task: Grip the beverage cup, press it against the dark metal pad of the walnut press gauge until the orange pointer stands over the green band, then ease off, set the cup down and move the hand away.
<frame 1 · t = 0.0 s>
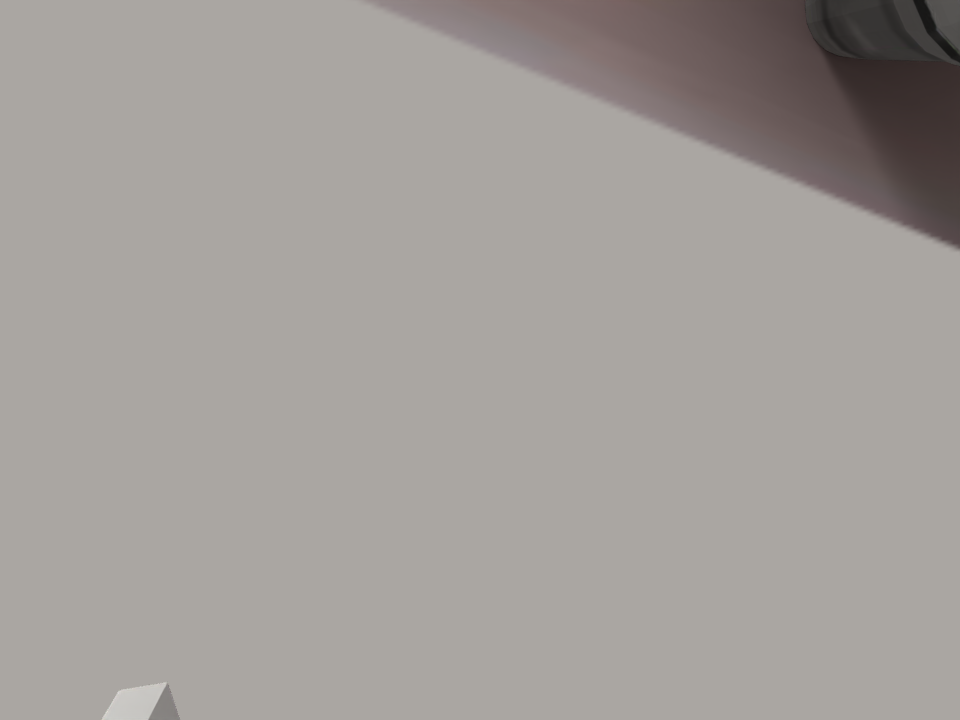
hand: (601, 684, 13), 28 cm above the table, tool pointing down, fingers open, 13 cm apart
beverage cup: (854, 3, 37), on the table
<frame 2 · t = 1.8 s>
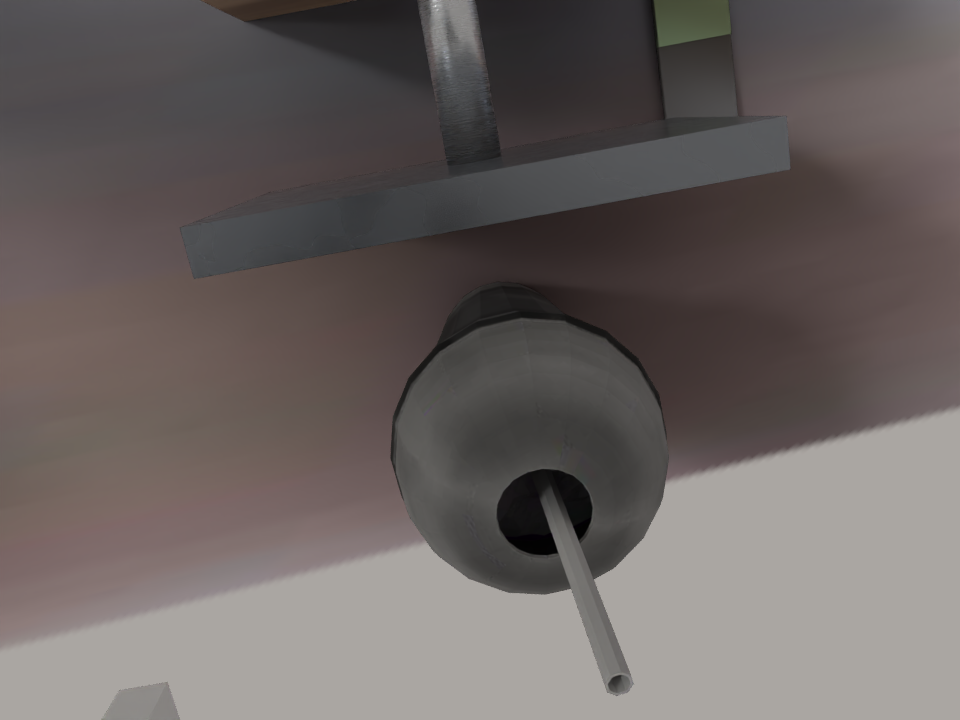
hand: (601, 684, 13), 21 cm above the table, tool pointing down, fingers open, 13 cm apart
beverage cup: (502, 336, 33), on the table
gauge housing: (465, 130, 31), on the table
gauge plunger: (482, 14, 23), point 7 cm above the table, slide at 0.0 cm
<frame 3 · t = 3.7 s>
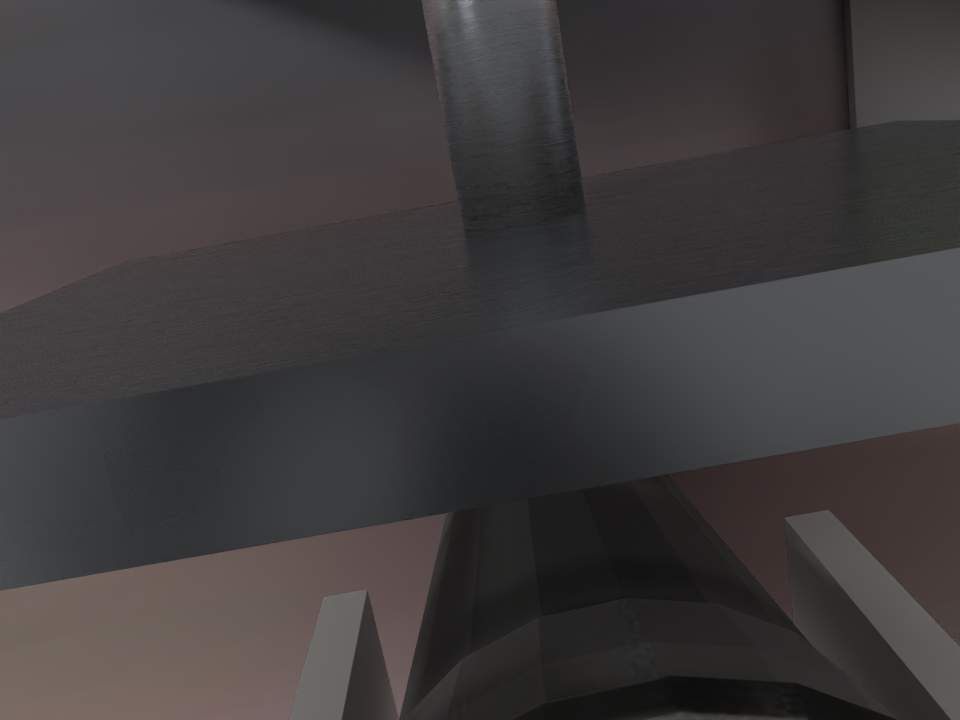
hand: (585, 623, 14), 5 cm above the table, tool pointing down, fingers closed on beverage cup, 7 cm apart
beverage cup: (553, 493, 20), on the table, touching gripper
gauge housing: (492, 143, 17), on the table
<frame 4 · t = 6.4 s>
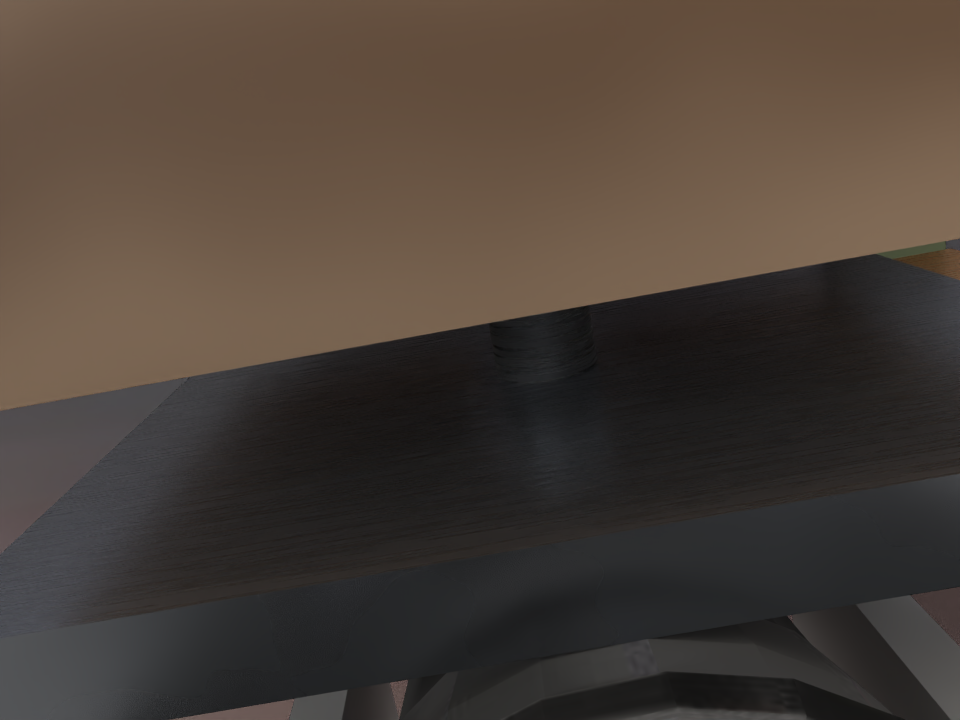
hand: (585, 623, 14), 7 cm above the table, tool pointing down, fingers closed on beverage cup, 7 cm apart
beverage cup: (553, 494, 20), point 2 cm above the table, touching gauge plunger, gripper
gauge housing: (541, 418, 21), on the table
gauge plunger: (573, 110, 12), point 8 cm above the table, slide at 4.2 cm, touching beverage cup
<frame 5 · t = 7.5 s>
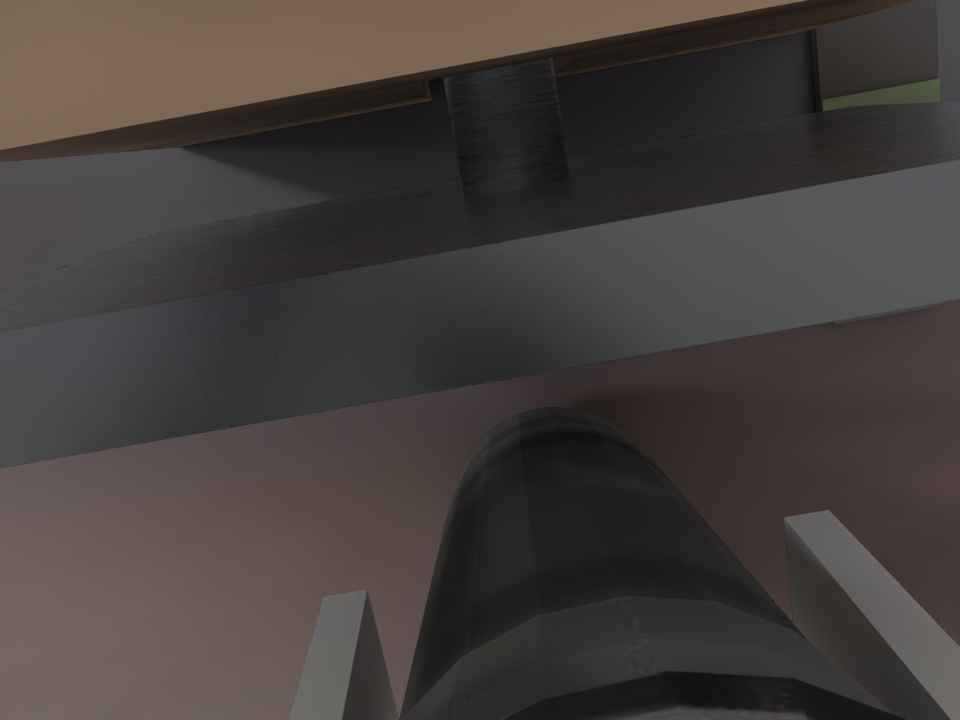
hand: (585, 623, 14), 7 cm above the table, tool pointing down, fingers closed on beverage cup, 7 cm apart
beverage cup: (553, 495, 20), point 2 cm above the table, touching gripper
gauge housing: (520, 307, 20), on the table
when the fingers open (6 cm above the table, at t = 8.1 s): beverage cup stays where it is, on the table.
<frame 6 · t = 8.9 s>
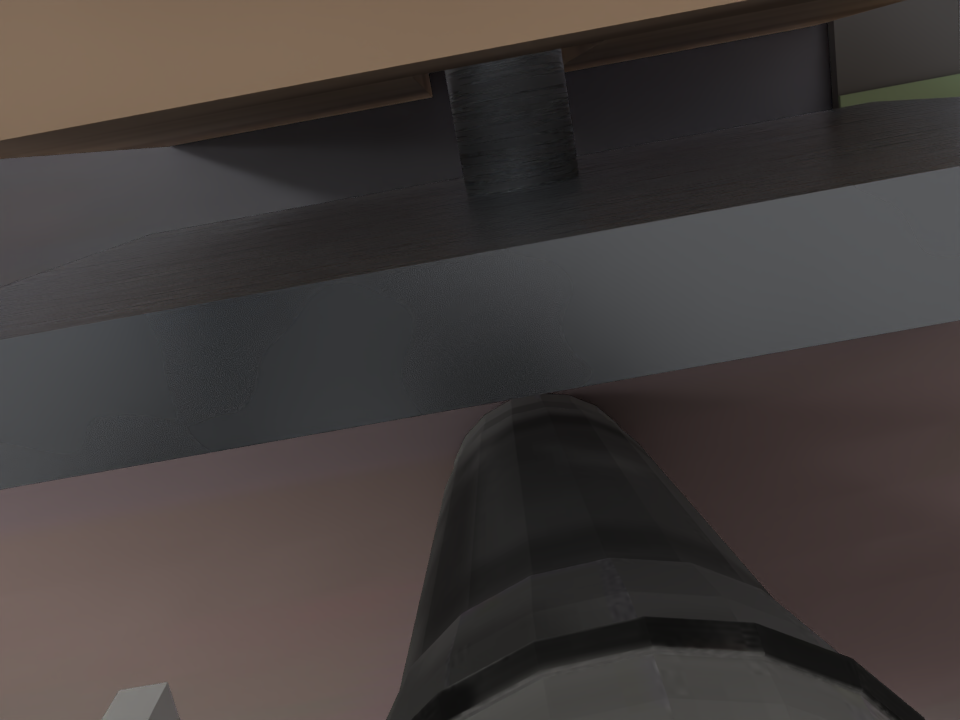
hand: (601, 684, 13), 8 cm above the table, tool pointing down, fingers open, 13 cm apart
beverage cup: (543, 477, 21), on the table
gauge housing: (525, 311, 19), on the table
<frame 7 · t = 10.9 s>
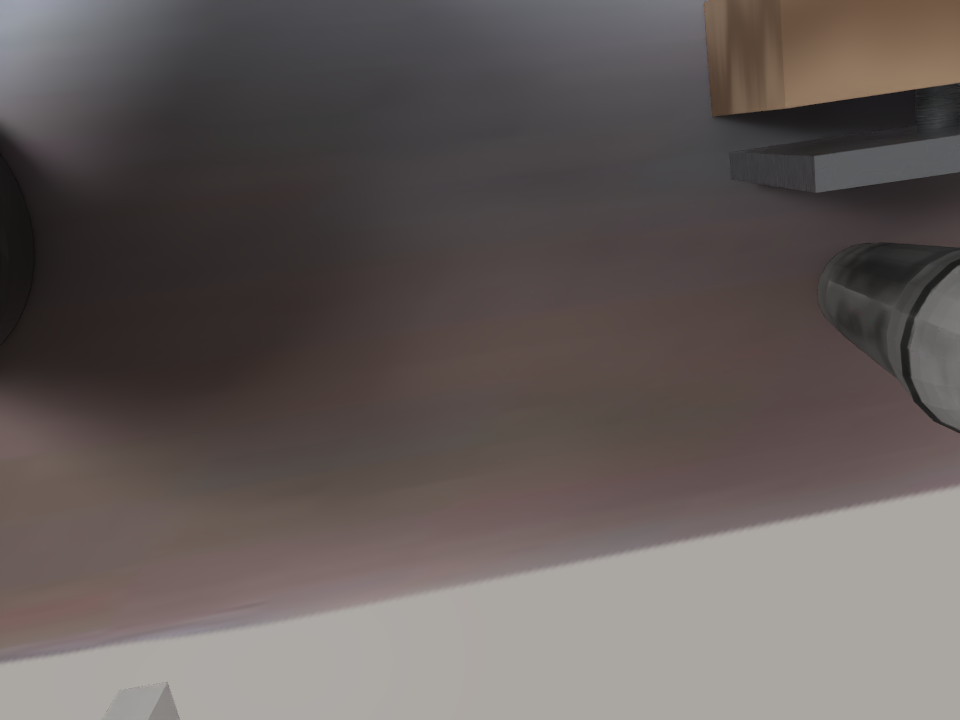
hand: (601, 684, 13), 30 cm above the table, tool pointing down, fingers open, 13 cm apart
beverage cup: (861, 288, 42), on the table
gauge housing: (865, 201, 40), on the table
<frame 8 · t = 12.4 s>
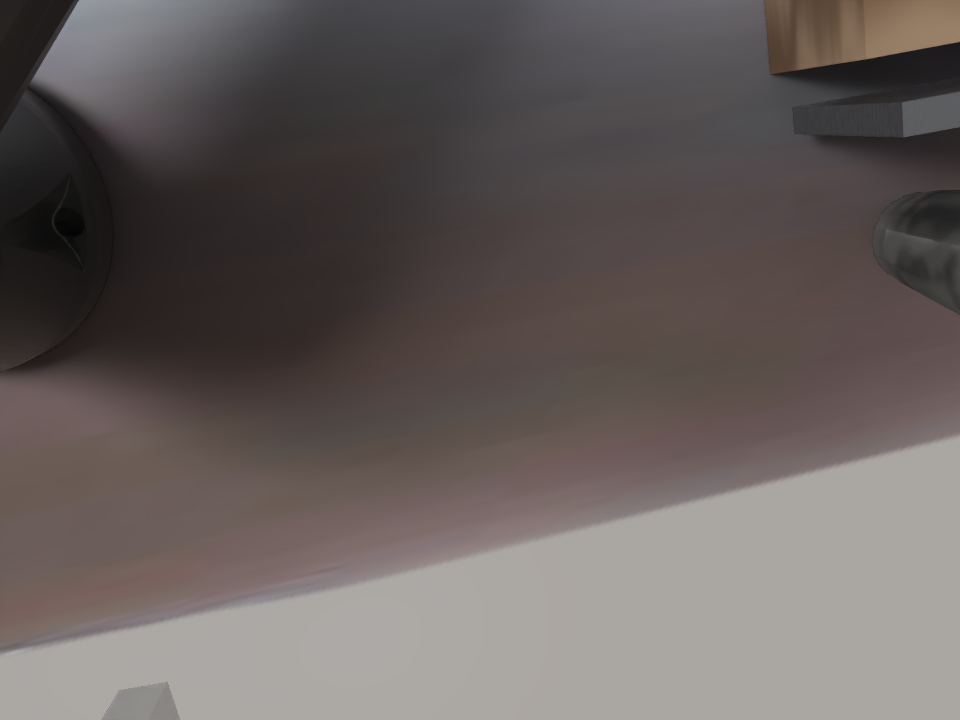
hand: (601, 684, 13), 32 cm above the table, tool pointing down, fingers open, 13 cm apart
beverage cup: (913, 236, 43), on the table
gauge housing: (917, 152, 42), on the table
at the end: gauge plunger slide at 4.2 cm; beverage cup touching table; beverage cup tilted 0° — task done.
